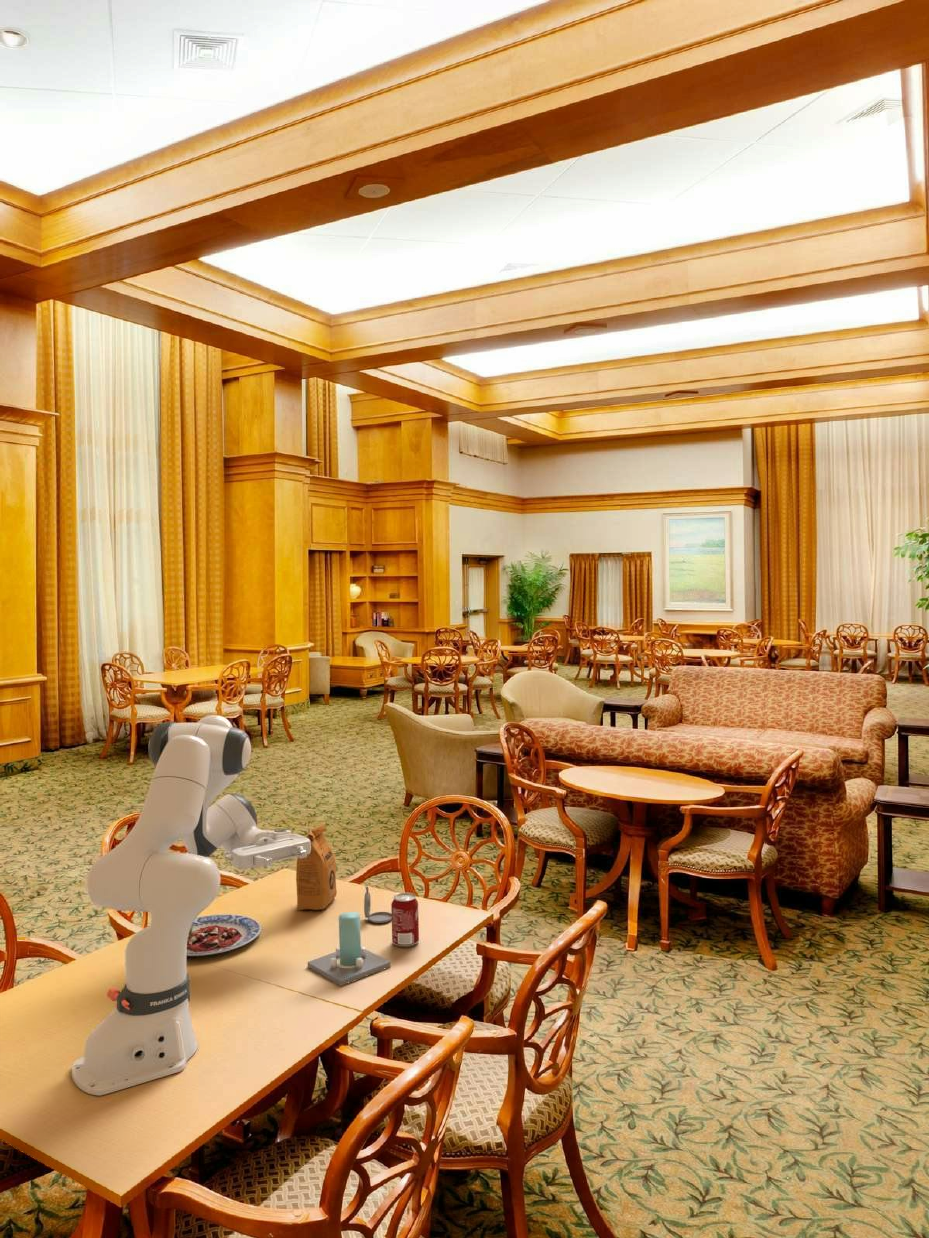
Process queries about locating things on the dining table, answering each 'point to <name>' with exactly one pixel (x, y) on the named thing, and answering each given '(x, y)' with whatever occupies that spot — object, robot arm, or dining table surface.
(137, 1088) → the dining table surface
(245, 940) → the ceramic plate
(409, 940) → the soda can
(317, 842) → the coffee package
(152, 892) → the robot arm
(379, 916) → the pocket watch
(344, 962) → the teal post
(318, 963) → the dowel seat
